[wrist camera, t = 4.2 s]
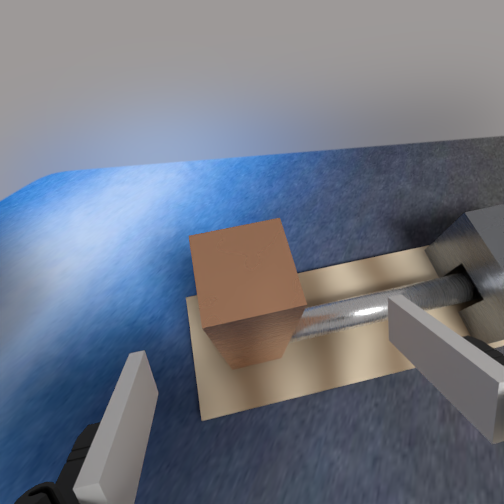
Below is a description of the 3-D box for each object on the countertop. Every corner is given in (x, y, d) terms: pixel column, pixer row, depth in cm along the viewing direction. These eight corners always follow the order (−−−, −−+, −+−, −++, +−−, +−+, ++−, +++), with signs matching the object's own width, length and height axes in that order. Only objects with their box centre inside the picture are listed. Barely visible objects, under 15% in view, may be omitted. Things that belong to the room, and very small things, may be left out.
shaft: (232, 369, 24) (201, 328, 11) (223, 321, 26) (188, 235, 13) (474, 312, 26) (694, 217, 13) (450, 270, 27) (621, 150, 14)
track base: (203, 420, 24) (201, 421, 23) (188, 300, 28) (185, 297, 27) (581, 326, 26) (592, 323, 26) (512, 230, 31) (520, 225, 30)
